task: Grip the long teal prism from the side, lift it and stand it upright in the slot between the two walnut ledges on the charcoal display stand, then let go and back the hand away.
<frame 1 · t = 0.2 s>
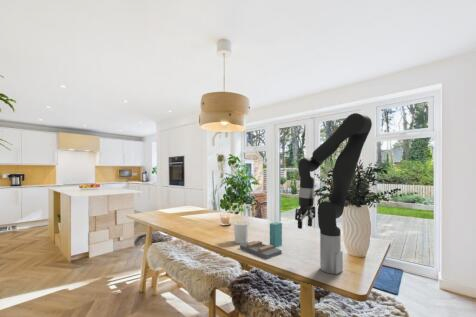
hand: (304, 227, 128), 18 cm above the table, tool pointing down, fingers open, 8 cm apart
long teal prism: (275, 245, 152), on the table
candle holder: (241, 242, 160), on the table
display stand: (260, 250, 143), on the table
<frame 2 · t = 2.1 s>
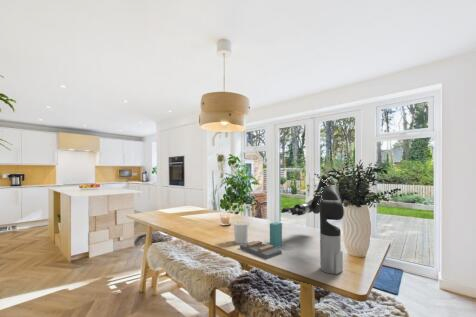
hand: (286, 212, 160), 19 cm above the table, tool horizontal, fingers open, 8 cm apart
nothing on the table moved.
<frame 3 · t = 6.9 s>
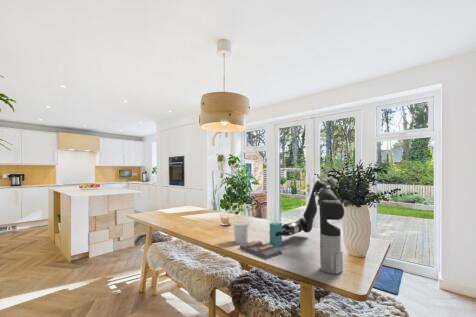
hand: (273, 233, 151), 8 cm above the table, tool horizontal, fingers closed on long teal prism, 4 cm apart
long teal prism: (275, 245, 152), on the table, touching gripper
everything else where it was.
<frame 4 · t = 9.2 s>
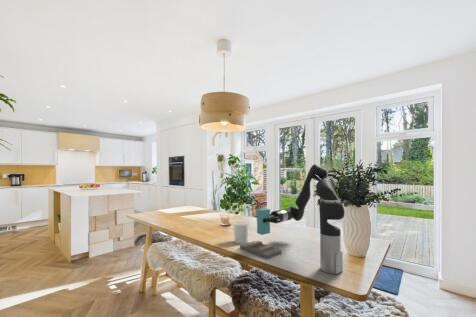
hand: (260, 220, 144), 18 cm above the table, tool horizontal, fingers closed on long teal prism, 4 cm apart
long teal prism: (263, 233, 145), point 10 cm above the table, touching gripper
everything else where it was.
when the fingers open (11 cm above the table, at t = 11.9 s): long teal prism drops 1 cm, resting on display stand.
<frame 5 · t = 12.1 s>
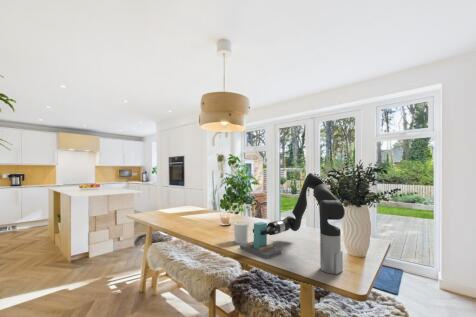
hand: (257, 232, 142), 11 cm above the table, tool horizontal, fingers open, 6 cm apart
long teal prism: (260, 247, 143), point 2 cm above the table, touching display stand
everything else where it was.
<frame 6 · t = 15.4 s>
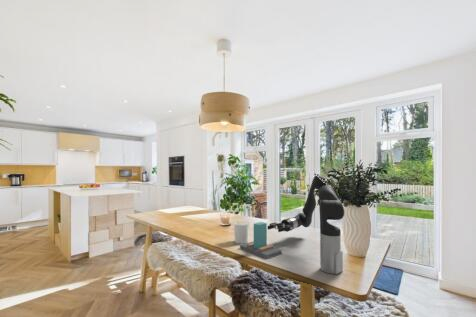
hand: (273, 229, 151), 11 cm above the table, tool horizontal, fingers open, 8 cm apart
nothing on the table moved.
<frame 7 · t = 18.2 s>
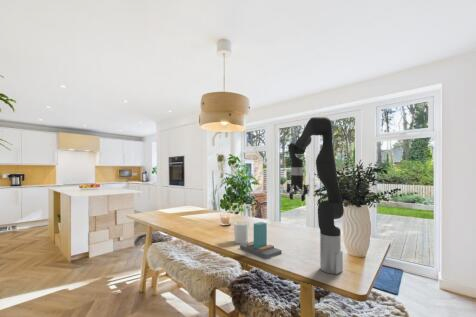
hand: (297, 200, 154), 28 cm above the table, tool pointing down, fingers open, 8 cm apart
nothing on the table moved.
at the end: long teal prism 0.0 cm from the target spot, point 2.0 cm above the table; long teal prism tilted 0°; the gripper is holding nothing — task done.
